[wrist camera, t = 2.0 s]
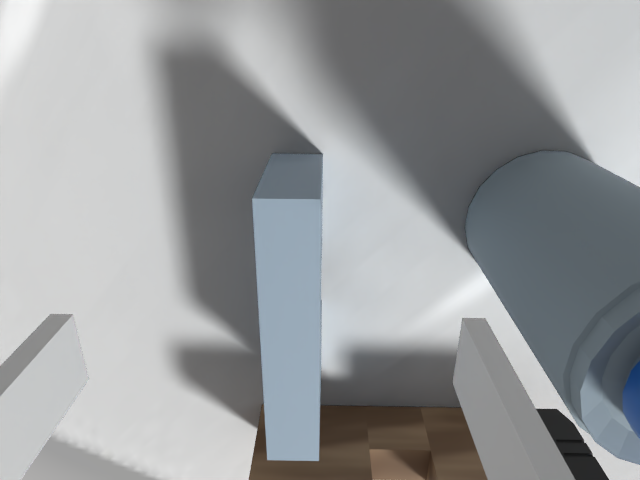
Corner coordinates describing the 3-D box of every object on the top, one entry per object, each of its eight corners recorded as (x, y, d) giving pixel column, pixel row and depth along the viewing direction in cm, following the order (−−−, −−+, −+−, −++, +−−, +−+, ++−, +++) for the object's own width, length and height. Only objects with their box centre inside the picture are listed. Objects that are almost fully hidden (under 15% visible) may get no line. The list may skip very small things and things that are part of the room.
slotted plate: (272, 153, 28) (252, 198, 20) (322, 153, 28) (320, 199, 20) (280, 368, 34) (267, 460, 27) (321, 368, 34) (319, 461, 27)
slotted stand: (261, 404, 36) (245, 500, 29) (524, 408, 36) (574, 506, 28) (263, 433, 37) (247, 533, 30) (517, 437, 37) (564, 539, 30)
